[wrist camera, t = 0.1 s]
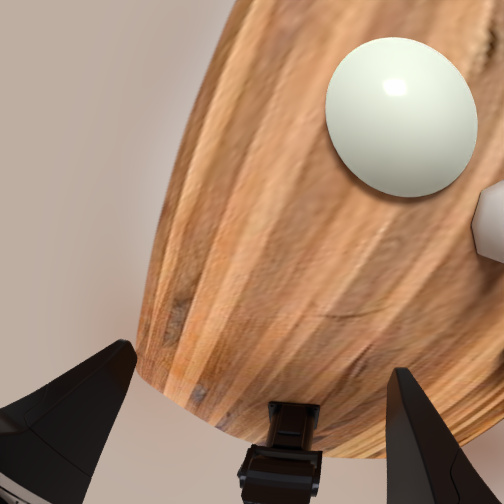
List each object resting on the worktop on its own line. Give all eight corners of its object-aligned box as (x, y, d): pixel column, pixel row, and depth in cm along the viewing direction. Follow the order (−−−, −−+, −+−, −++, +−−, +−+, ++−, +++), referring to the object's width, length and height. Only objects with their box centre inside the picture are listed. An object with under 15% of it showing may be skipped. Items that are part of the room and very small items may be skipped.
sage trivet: (465, 197, 18) (470, 202, 17) (327, 190, 20) (328, 194, 19) (468, 54, 12) (474, 53, 12) (318, 36, 15) (318, 32, 14)
